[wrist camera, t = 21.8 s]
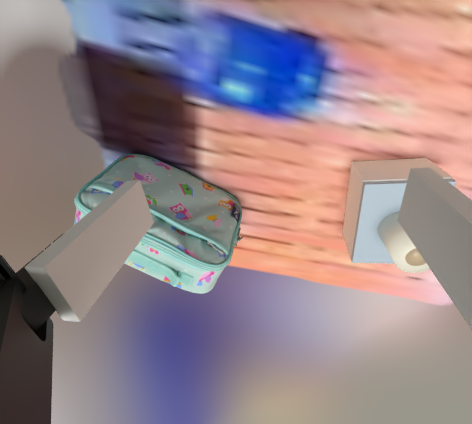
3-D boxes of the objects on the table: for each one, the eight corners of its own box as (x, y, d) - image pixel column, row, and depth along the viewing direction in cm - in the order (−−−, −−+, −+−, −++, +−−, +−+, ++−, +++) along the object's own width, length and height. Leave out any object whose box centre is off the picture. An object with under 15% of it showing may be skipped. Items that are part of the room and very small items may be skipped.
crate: (351, 161, 46) (363, 180, 39) (426, 157, 44) (452, 177, 37) (342, 233, 54) (350, 259, 47) (404, 233, 52) (423, 260, 45)
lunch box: (254, 200, 53) (241, 276, 35) (234, 234, 59) (214, 315, 41) (133, 141, 50) (51, 192, 32) (124, 183, 56) (49, 246, 38)
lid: (363, 181, 39) (365, 184, 38) (452, 178, 37) (456, 181, 36) (350, 258, 47) (352, 262, 46) (423, 260, 45) (426, 264, 44)
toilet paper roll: (381, 212, 40) (400, 239, 34) (423, 212, 39) (450, 240, 33) (374, 242, 43) (389, 272, 37) (413, 243, 42) (435, 274, 36)
